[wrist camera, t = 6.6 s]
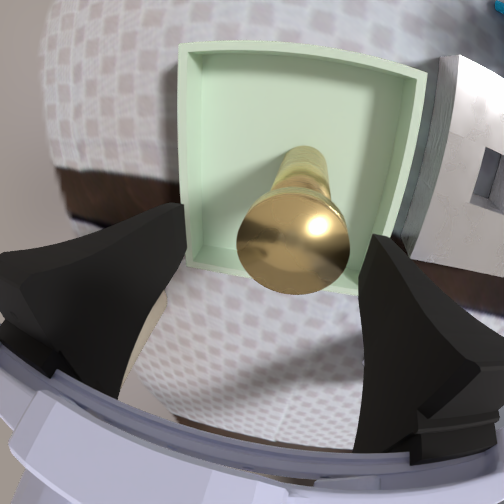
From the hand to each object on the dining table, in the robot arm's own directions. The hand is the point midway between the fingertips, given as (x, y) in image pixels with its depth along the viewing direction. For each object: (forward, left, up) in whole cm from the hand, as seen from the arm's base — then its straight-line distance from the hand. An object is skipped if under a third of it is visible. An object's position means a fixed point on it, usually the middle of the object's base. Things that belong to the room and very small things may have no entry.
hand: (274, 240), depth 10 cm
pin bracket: (+3, -14, -10) cm, 17 cm away
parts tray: (0, 0, -10) cm, 10 cm away
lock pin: (0, -1, -9) cm, 9 cm away
